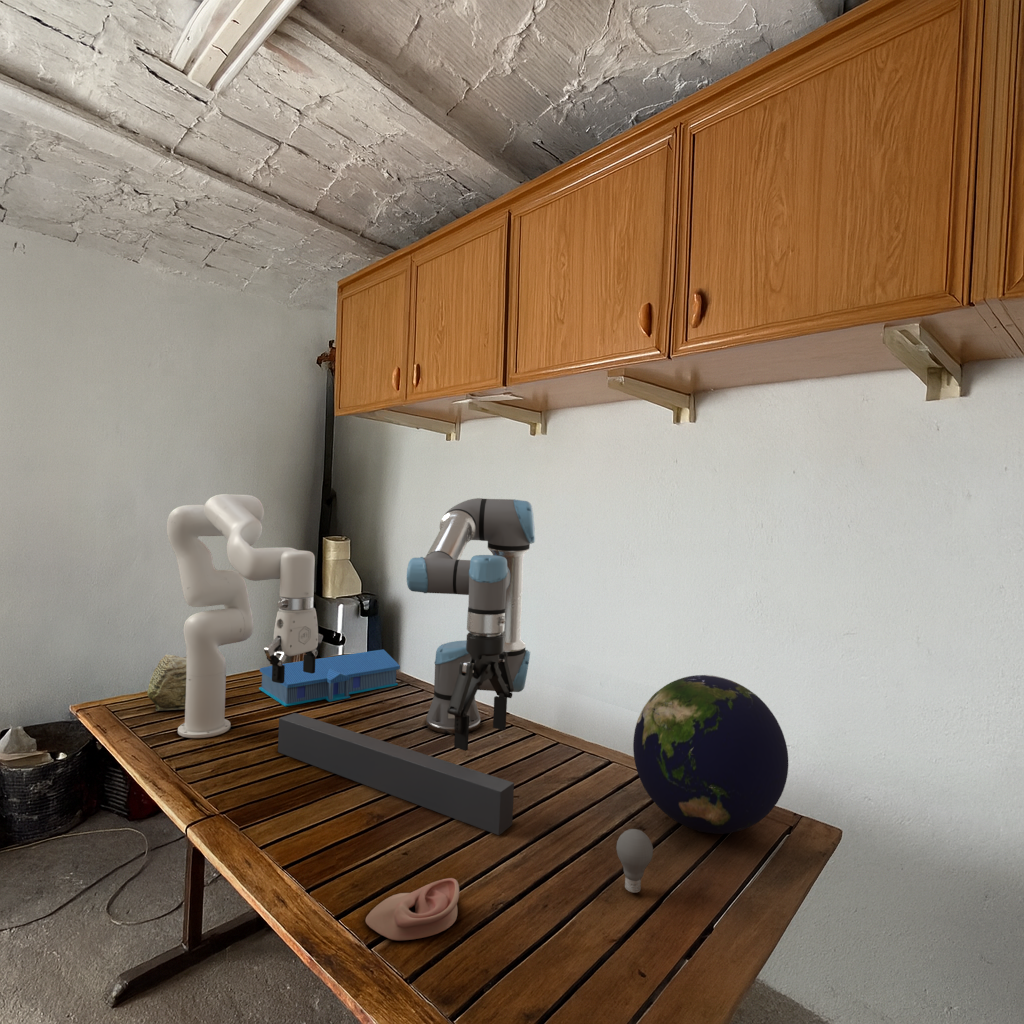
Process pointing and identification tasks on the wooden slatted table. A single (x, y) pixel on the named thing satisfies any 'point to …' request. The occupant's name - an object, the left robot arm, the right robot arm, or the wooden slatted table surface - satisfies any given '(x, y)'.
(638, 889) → the light bulb
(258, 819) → the wooden slatted table surface
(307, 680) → the model building
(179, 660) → the fossil
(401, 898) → the anatomical model
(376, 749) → the post
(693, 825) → the globe
